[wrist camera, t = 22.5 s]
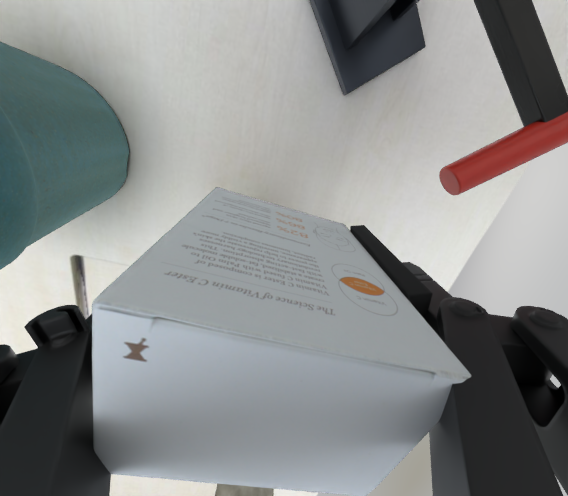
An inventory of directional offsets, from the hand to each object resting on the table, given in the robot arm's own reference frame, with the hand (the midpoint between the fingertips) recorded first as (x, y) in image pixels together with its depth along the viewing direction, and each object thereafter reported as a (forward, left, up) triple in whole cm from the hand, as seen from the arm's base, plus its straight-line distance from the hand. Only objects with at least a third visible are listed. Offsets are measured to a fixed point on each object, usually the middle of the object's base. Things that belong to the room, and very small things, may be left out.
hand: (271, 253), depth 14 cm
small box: (0, 0, -1) cm, 1 cm away
